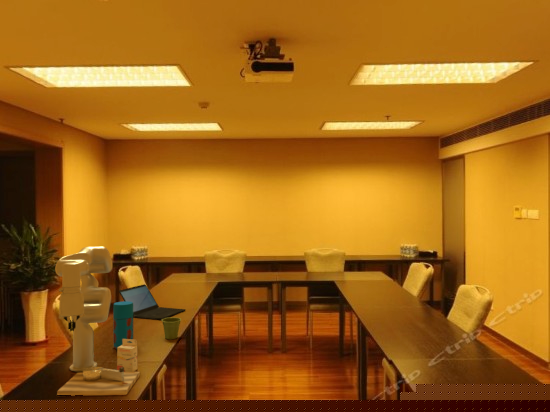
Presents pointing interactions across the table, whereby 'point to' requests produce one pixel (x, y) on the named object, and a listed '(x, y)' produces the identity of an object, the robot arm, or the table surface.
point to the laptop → (146, 304)
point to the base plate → (98, 385)
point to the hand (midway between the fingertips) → (71, 330)
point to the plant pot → (171, 327)
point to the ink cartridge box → (127, 355)
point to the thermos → (122, 322)
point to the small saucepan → (103, 374)
